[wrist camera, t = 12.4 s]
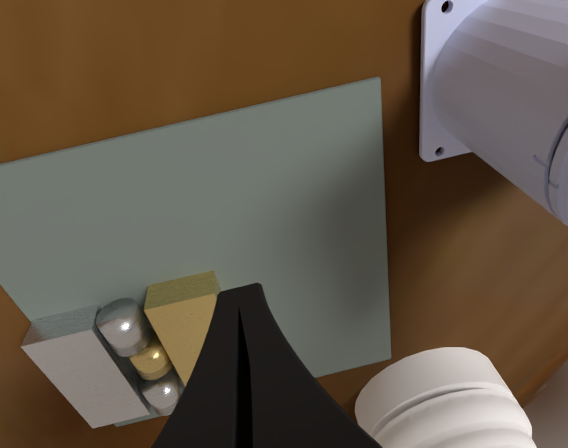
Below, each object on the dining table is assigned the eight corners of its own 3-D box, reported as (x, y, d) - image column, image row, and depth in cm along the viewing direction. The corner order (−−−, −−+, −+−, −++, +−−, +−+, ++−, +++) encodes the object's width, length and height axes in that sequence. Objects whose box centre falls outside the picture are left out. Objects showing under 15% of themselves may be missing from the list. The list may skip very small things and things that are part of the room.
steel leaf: (186, 380, 30) (185, 410, 28) (99, 401, 30) (91, 434, 28) (139, 293, 25) (134, 324, 23) (33, 319, 24) (17, 352, 22)
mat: (378, 76, 20) (380, 78, 19) (389, 355, 32) (391, 358, 32) (-77, 181, 19) (-81, 184, 19) (117, 423, 32) (116, 427, 32)
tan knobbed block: (247, 361, 30) (250, 390, 28) (158, 382, 29) (155, 413, 28) (213, 270, 24) (214, 298, 22) (106, 295, 24) (97, 326, 22)
